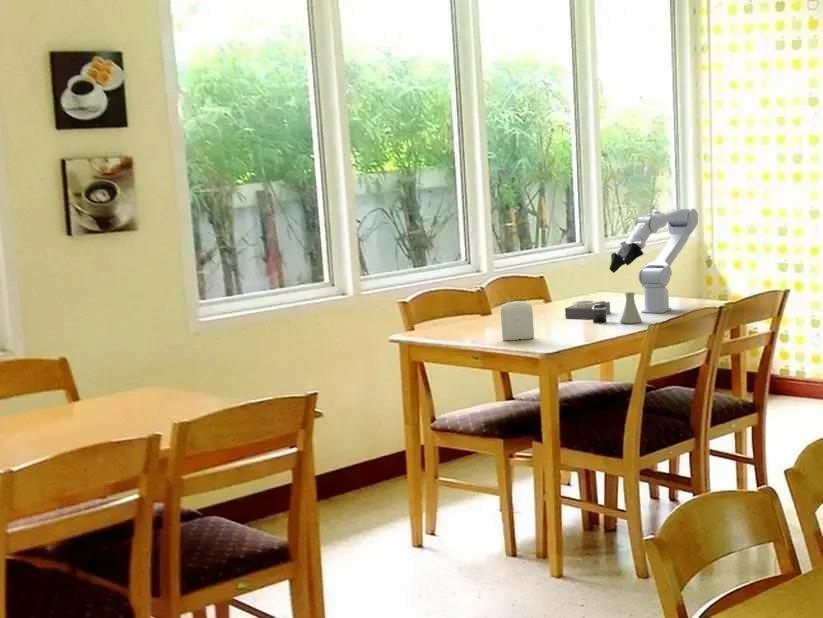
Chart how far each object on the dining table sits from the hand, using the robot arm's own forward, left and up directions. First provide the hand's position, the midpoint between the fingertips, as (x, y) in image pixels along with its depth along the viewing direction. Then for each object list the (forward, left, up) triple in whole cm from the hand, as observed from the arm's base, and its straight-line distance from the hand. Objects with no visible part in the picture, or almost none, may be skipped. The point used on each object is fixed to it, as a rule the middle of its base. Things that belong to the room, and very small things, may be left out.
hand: (618, 266), depth 411 cm
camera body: (-11, -17, -19) cm, 28 cm away
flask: (+1, +4, -19) cm, 19 cm away
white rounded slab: (+38, -20, -19) cm, 47 cm away
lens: (+2, -7, -19) cm, 20 cm away
